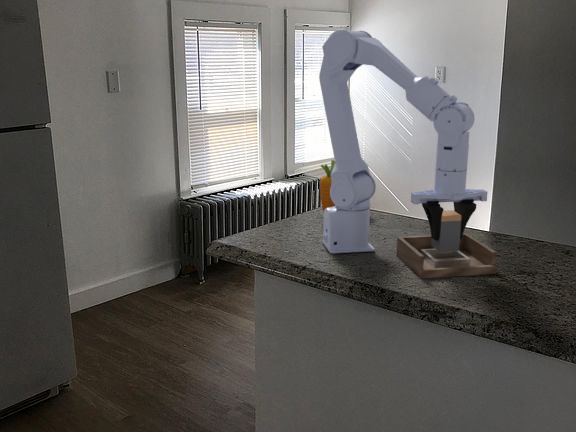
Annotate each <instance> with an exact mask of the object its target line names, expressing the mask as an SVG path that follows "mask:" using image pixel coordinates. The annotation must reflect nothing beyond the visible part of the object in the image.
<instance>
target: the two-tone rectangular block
mask: <svg viewBox="0 0 576 432" xmlns="http://www.w3.org/2000/svg"><path fill="white" fill-rule="evenodd" d="M461 217H462V215H460V214H458V213H457V212H455V211H454V209H453V210H452V209H451V210H448V209H447V210H443V213H442V218H441V223H440V236H439V240H434V239H433V238H432V240H431V246H432V247H434V248H435V249H436V250H438V251H439V252H445V251H459V244H460V231H461Z"/></svg>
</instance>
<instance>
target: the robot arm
mask: <svg viewBox="0 0 576 432" xmlns="http://www.w3.org/2000/svg"><path fill="white" fill-rule="evenodd" d="M322 53H323V57H322V61H321V65H320V71H319V77H318V78H319V84H320V90H321V95H322V96H321V97H322V101H323V106H324V111H325V117H326V121H327V125H328V126H327V127H328V132H329V137H330V142H331V148H332V152H333V158H334V159H333V160H334V161H335V165H334V168H333V170H332V172H331V188H330V197H331V199H332V201H333V203H334V204H335V206H334V207H329V208H325V210H324V212H323V226H322V227H323V228H322V229H323V231H322V233H323V234H322V237H323V238H322V241H321V242H322V244H323V245H324V247H325V248H326V249H327V251H328V252H329V254H344V253H345V254H347V253H365V252H375V250H376V249H375V247H374V246H373V245H372V244H371V243H370V222H371V221H370V219H371V218H370V217H371V214H370V213H371V203H370V202H371V198H372V197H373V196H374V195H375V193H376V189H377V185H376V181H375V178H374V177H373V176H372V174H371V172H370V170H369V165H368V164H367V163H366V161H365V160H364V159H363V158H362V155H361V151H360V144H359V139H358V134H357V128H356V123H355V117H354V112H353V107H352V101H351V95H350V90H349V84H348V82H349V80H350V79H351V77H352V76H353V75H354V74H355V72H356V71H357V69H358V68H360V67H361V66H363V65H366V66H372V67H375V69H377V70H379V71H380V72H381V73H382V74H383V75H385V76H387V78H389V79H390V80H391V81H393V82H394V83H396V85H398V86H399V87H400V88H402V89H403V90H404V92H405V99H406V101H407V102H408V103H409V104H411V105H412V106H413V107H414V108H415V109H416V110H417V111H419V112H420V113H421V114H422V115H423V116H425V118H426V119H428V120H429V121H431V122H433V127H434V130H435V131H436V133H437V144H436V156H435V172H434V173H435V174H434V187H433V189H430V190H423V191H412V192H411V193H410V202H411V204H413V205H420V204H421V206H422V208H423V210H424V212H425V213H424V214H425V215H426V217H427V218H426V219H427V221H428V225H429V229H430V235H431V238H433V239H434V240H439V236H440V223H441V218H442V213H443V211H445V210H444V208H443V207H442V206H441V204H440V203H453V211H455V212H457V213H458V214H460V215H462V217H461V231H460V239H461V238H462V235H463V234H464V232H465V229H466V227H467V224H468V223H469V220H470V219H471V217H472V215H474V212H475V211H476V210H477V203H475V201H477V202H479V201H480V202H487V201H488V194H489V193H488V191H487V190H486V189H474V188H472V189H471V188H470V189H469V188H468V189H467V187H466V185H467V175H468V173H467V172H468V161H469V148H470V147H469V146H470V145H469V140H470V131H469V130H471V129H472V127H473V126H474V123H475V114H474V111H473V109H472V108H471V107H470V106H469V104H468V103H465V102H461V101H459V102H458V99H459V98H458V97H457V96H456V95H450V94H449V93H448V92H447V91H446V90H444V88H442V87H441V86H440V85H438V84H439V82H440V81H439V80H438V79H437V78H436V77H429V76H428V75H424V76H423V75H422V76H417V75H416V73H414V72H413V71H412V70H411V69H410V68H409V67H407V65H405V64H404V63H403V62H402V61H401V60H400V59H399V58H398V57H397V56H396V55H395V54H394V53H393V52H391V51H390V49H389V48H387V47H386V46H385V45H384V44H383V42H381V41H380V40H379V39H377V38H376V37H373V36H372V35H371V34H370V33H369V32H368V31H365V30H347V29H337V30H334V31H333V32H332V33H330V35H329V36H328V37H327V39H326V40H325V42H324V43H323V45H322Z"/></svg>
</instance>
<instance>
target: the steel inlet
mask: <svg viewBox="0 0 576 432" xmlns="http://www.w3.org/2000/svg"><path fill="white" fill-rule="evenodd" d="M420 253H421V254H422V255H423V256H424V260H425V261H426V262H427V263H428V264H429V265H431V266H432V267H433V268H448V267H464V266H470V263H471V259H470V258H469V257H467V256H466V255H464V254H463V253H462V252H460V251H445V252H439V251H438V250H436V249H421V251H420ZM438 256H454V257H455V258H456V259H445V260H436V259H435V258H434V257H438Z"/></svg>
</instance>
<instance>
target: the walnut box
mask: <svg viewBox="0 0 576 432" xmlns="http://www.w3.org/2000/svg"><path fill="white" fill-rule="evenodd" d="M396 240H397V241H396V257H397V258H398V259H399V260H400V261H402V262H403V264H404V265H405V266H407V267H408V269H409V270H411V271H412V272H413V273H414V274H415V275H416V276H417V277H418V278H419V279H429V278H430V279H431V278H432V279H433V278H434V279H435V278H449V277H450V278H451V277H463V276H464V277H465V276H467V277H468V276H479V275H493V274H495V275H497V274H498V273H497V271H498V266H497V265H496V260H497V251H496V250H494V249H492V248H491V247H489V246H487V244H484V243H483V242H481V241H480V240H479V239H477V238H475V237H474V236H472V235H471V234H469V233H466V232H465V233H464V232H463V235H462V238H461V239H460V244H459V251H460V252H462V253H463V254H464V255H466V256H467V257H469V258H470V259H471V263H470V266H464V267H448V268H433V267H432V266H431V265H429V264H428V263H427V262H426V261H425V260H424V256H423V255H422V254H421V253H420V251H421V249H435V248H434V247H432V246H431V240H432V238H431V234H429V235H428V234H427V235H411V236H410V235H409V236H408V235H407V236H397V239H396ZM434 258H435V259H436V260H445V259H456V258H455V257H454V256H438V257H434Z"/></svg>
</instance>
